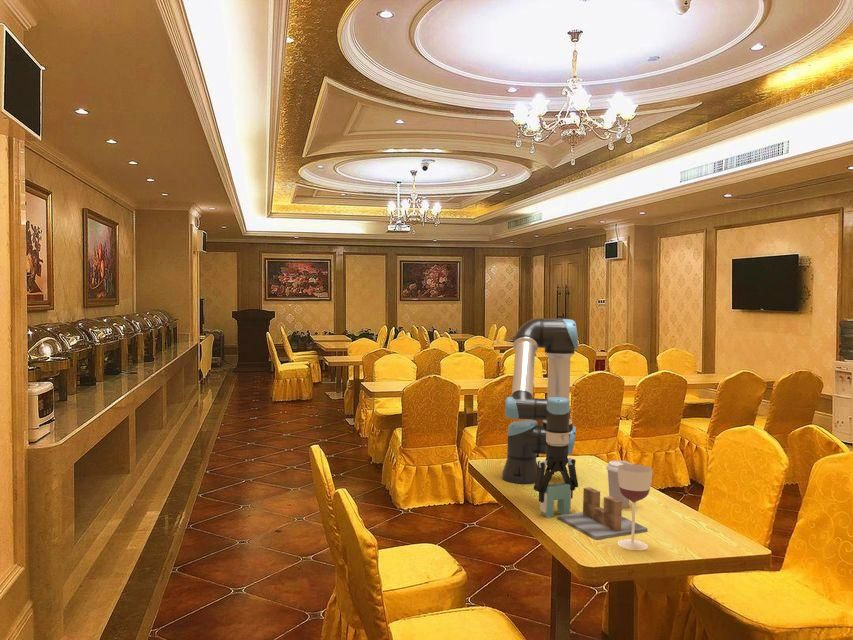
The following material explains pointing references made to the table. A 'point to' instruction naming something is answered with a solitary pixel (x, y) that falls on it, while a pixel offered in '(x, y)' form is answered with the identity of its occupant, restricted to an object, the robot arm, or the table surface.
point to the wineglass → (634, 495)
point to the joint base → (600, 517)
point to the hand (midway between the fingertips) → (555, 509)
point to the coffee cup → (616, 482)
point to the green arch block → (558, 498)
